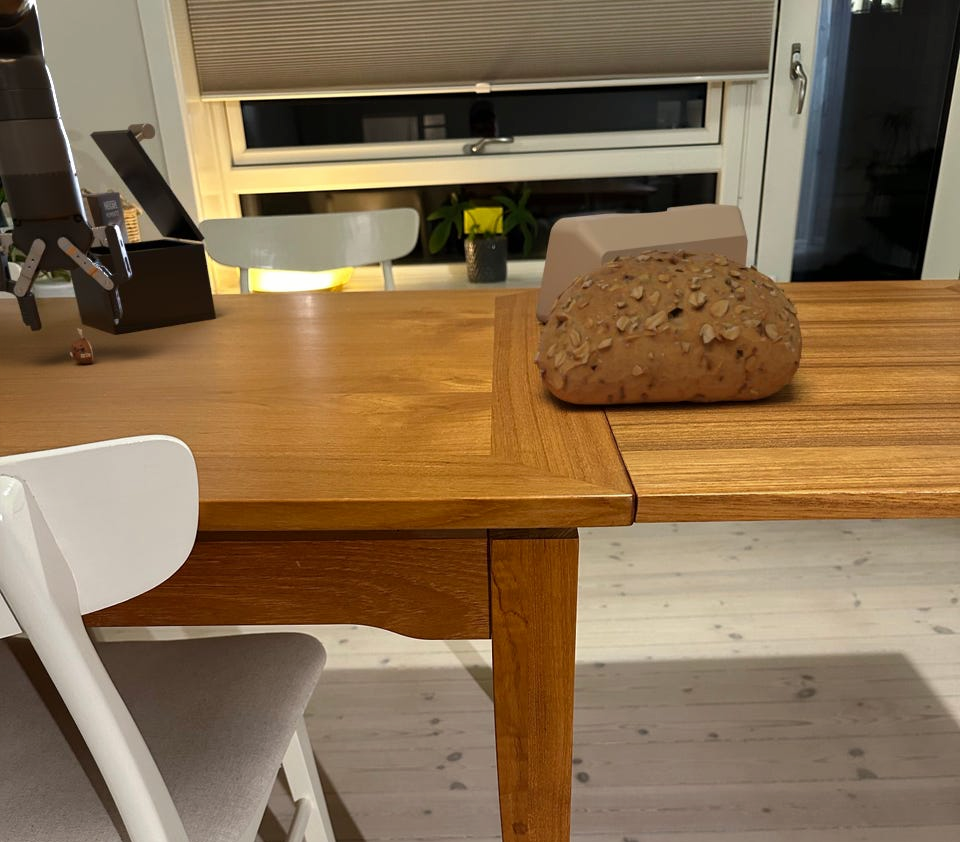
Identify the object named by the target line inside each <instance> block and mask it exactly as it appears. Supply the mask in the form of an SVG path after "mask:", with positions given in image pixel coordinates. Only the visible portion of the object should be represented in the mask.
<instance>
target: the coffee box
mask: <svg viewBox="0 0 960 842" xmlns="http://www.w3.org/2000/svg"><path fill="white" fill-rule="evenodd" d="M81 196H82V201H83V205H84V209H85V214H86V218H87V220H88V222H89V224H90V225H91V227H92V228H95V227H102V226H107V225H109V224H116V225H118V226H119V228H120V232H121V236H122V239H123V243H130V240H129V234H128V231H127V230H128V229H127V224H126V220H125V215H124V210H123V205H122V200H121V194H120V192H114V191H113V192H112V191H111V192H110V191H109V192H94V193H81ZM95 246H104V245H103V244H102V243H101V241H100V239H98V238H96V237H95V239H94V242H93V244H92V246H91V247H95ZM69 274H70V273H69ZM70 276H71V274H70ZM70 279H71V280H72V278H71V277H70ZM71 283H72V284H73V282H72V281H71ZM72 287H73V289H74V286H73V285H72ZM73 291H74V290H73ZM74 293H75V291H74ZM74 296H75V301H76V302H77V299H76V295H75V294H74ZM76 304H77V303H76ZM77 306H78V304H77ZM77 309H78V310H77V311H78V314H79V315H80V312H79V308H78V307H77Z"/></svg>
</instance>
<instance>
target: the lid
mask: <svg viewBox="0 0 960 842" xmlns="http://www.w3.org/2000/svg"><path fill="white" fill-rule="evenodd" d="M89 136H90V137H91V139H92V140H93V142H94V143H95V144H96V146H97V148H98V149H99V150H100V152H101V153H102V154H103V156H104V157H105V158H106V160H107V161H108V162H109V164H110V165H111V166H112V168H113V170H114V171H115V172H116V173H117V175H118V176H119V178H120V179H121V180H122V182H123V184H125V186H126V188H127V189H128V191H129V192H130V193H131V195H132V196H133V198H135V200H136V202H137V203H138V204H139V205H140V207H141V208H142V210H143V211H144V213H145V214H146V215H147V217H148V218H149V219H150V221H151V223H153V225H154V227H155V228H156V229H157V230H158V232H159V233H160V235H161V236H162V237H163V238H167V239H175V240H183V241H190V242H198V243H201V242H203V241H204V240H205V238H206V237H205V236H204V234H203V233H202V232H201V230H200V229H199V228H198V226H197V224H195V222H194V220H193V218H192V217H191V216H190V214H189V212H187V210H186V209H185V207H184V206H183V204H182V202H181V201H180V199H179V198H178V197H177V196H176V194H175V192H174V191H173V189H172V188H171V186H170V184H168V182H167V181H166V179H165V178H164V176H163V175H162V173H161V172H160V171H159V169H158V168H157V166H156V165H155V163H154V162H153V160H152V158H151V157H150V156H149V154H148V153H147V152H146V150H145V149H144V147H143V146H142V144H141V142H142V141H144V140H152V139H154V138H155V136H156V128H155V127H154V126H153V124H151V123H147V122H146V123H135V124H130V125H129V126H128V127H127V129H117V130H102V131H101V130H100V131H93V132H92V133H90V134H89Z"/></svg>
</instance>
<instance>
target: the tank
mask: <svg viewBox="0 0 960 842" xmlns="http://www.w3.org/2000/svg"><path fill="white" fill-rule="evenodd" d="M748 240H749V239H748V235H747V231H746V227H745V223H744V219H743V214H742V211H741V209H740V208H739V207H738V205H733V204H732V205H730V204H719V203H702V204H693V205H683V206H672V207H668V208H667V210H665V211H658V212H644V213H601V214H591V215H580V216H571V217H570V216H569V217H562V218H560V219H558V220H557V221H556V222H554V224H553V226H552V227H551V230H550V234H549V239H548V245H547V250H546V251H547V252H546V255H545V261H544V266H543V272H542V278H541V282H540V288H539V293H538V299H537V305H536V306H537V307H536V310H535V318H536V320H537V321H538V322H540V323H542V324H546V321H547V318H548V316H549V314H550V312H551V309H552V306H553V303H554V302H555V300H558V299H557V296H558V295H559V294H560V293H561V292H562V291H563V290H565V289H566V288H567V287H568V286H569V285H570V284H571V283H572V281H573V280H574V279H575V278H576V277H577V276H578V275H581V276H584V275H585V274H586V273H588V272H589V271H591V270H593V269H595V268H596V267H598V266H600V265H603V264H605V263H609V262H610V261H612V260H613V259H615V258H616V257H618V256H619V255H620V256H619V259H620V257H627V256H629V255H632V256H631V257H634V256H638V255H640V254H641V253H642V252H645V251H650V250H657V251H660V250H673V249H675V250H677V249H682V250H685V249H689V250H697V251H701V252H705V253H708V254H712V253H713V252H714V253H716V254H718V255H720V256H721V255H722V256H725V257H727V259H728V260H734V262H736V263H740V264H742V265H743V266H746V267H747V257H748V256H747V255H748V247H749V246H748V244H749V241H748ZM619 259H618V260H619Z"/></svg>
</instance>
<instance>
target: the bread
mask: <svg viewBox="0 0 960 842" xmlns="http://www.w3.org/2000/svg"><path fill="white" fill-rule="evenodd" d="M619 256H620V255H619ZM619 256H618V257H616V258H615V259H613V260H612V261H610V262H609V263H605V264H603V265H600V266H598V267H596V268H595V269H593V270H591V271H589V272H588V273H586V274H585V275H584V276H581V275H578V276H577V277H576V278H575V279H574V280H573V281H572V283H571V284H570V285H569V286H568V287H567V288H566V289H565V290H563V291H562V292H561V293H560V294H559V295H558V296H557V299H558V300H555V302H554V303H553V306H552V309H551V312H550V314H549V316H548V318H547V321H546V323H545V325H544V328H542V329H541V332H540V333H539V334H540V335H539V339H538V341H539V342H537V349H536V352H535V356H534V358H533V359H534V360H533V362H532V365H536V366H537V369H538V374H539V378H541V381H542V383H543V385H545V387H546V388H547V389H548V391H549V392H551V394H552V395H553V396H555V397H556V398H557V399H560V401H561V400H562V401H564V402H566V403H570V404H574V405H590V406H593V405H596V406H597V405H621V404H643V403H679V402H691V403H706V404H707V403H714V402H738V401H739V402H746V401H748V402H749V401H750V402H751V401H758V400H761V399H764V398H767V397H769V396H771V395H774V394H776V393H777V392H780V391H781V390H782V389H783V388H784V387H786V386H787V385H788V384H789V383H790V382H791V381H792V379H793V377H794V376H795V375H796V373H797V371H798V369H799V367H800V363H801V360H803V357H802V349H803V339H802V330H801V326H800V321H799V319H798V316H797V315H798V314H799V313H798V310H797V308H796V307H795V303H793V301H791V297H790V296H788V295H787V293H785V289H783V288H782V287H781V288H780V287H779V286H777V284H776V283H775V281H774V279H772V278H771V277H770V276H768V275H766V274H764V273H762V272H760V271H759V270H758V268H757V266H756V265H752V264H751V265H750V267H748V266H747V265H746V266H743V265H742V264H740V263H736V262H734V260H728V259H727V257H725V256H722V255H721V256H720V255H718V254H716V253H714V252H713V253H712V254H708V253H705V252H701V251H697V250H689V249H685V250H682V249H677V250H675V249H673V250H660V251H657V250H650V251H645V252H642V253H641V254H640V255H638V256H634V257H631V256H632V255H629V256H627V257H620V259H619ZM618 259H619V260H618Z"/></svg>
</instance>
